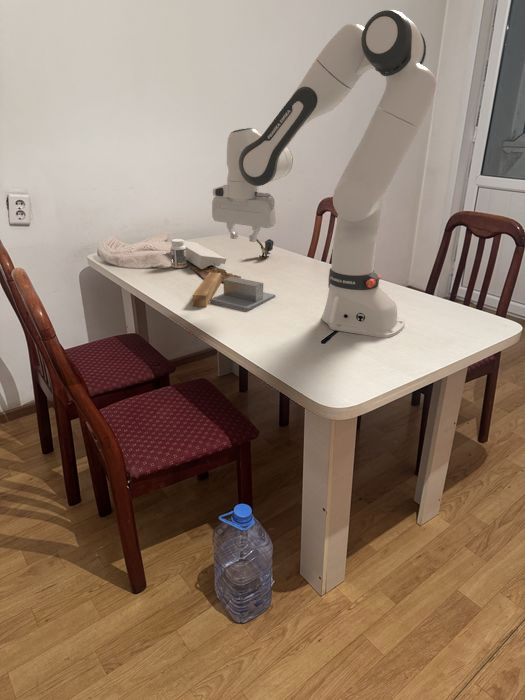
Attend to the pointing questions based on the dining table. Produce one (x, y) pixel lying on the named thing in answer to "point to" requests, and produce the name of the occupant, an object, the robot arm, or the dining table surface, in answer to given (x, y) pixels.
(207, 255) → the decorative molding
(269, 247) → the eagle figurine
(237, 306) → the ridge board
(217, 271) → the wooden fragment
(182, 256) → the pill bottle
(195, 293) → the wood batten
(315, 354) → the dining table surface
